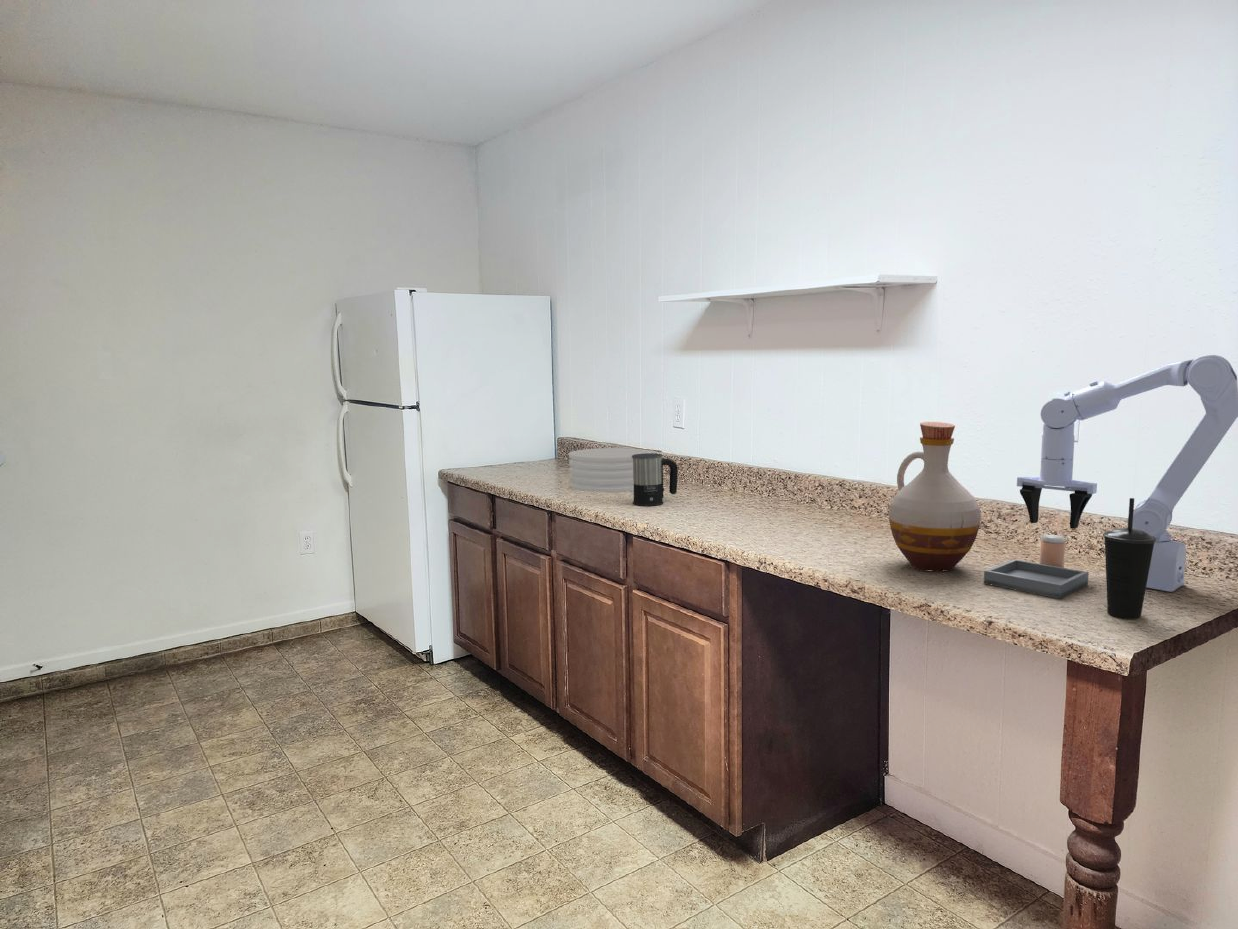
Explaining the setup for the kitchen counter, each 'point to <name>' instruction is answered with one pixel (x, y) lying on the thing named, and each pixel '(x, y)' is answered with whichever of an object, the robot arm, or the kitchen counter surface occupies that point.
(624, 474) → the plate stack
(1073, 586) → the tray
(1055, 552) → the shaker
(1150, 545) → the drinking cup
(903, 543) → the jug
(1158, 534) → the robot arm
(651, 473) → the milk frother
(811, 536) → the kitchen counter surface
